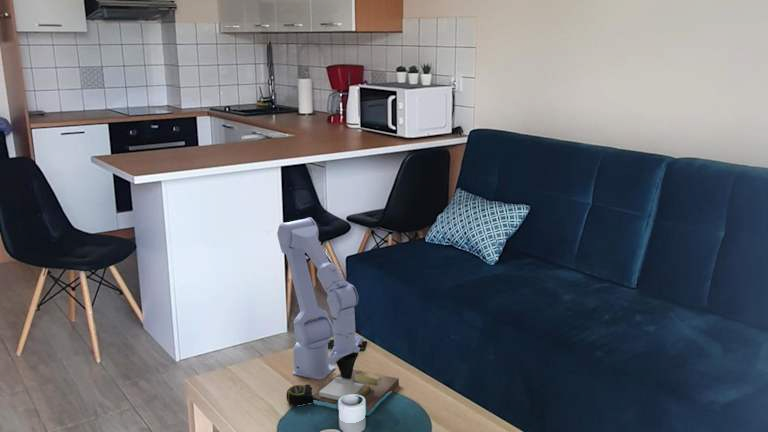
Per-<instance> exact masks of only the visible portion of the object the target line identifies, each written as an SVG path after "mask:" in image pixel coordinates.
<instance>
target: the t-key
mask: <svg viewBox="0 0 768 432" xmlns="http://www.w3.org/2000/svg"><path fill="white" fill-rule="evenodd" d="M372 373H373V372H369V373H368V372H367V371H363V370H360V369H358V371H357V372H355V373H354V374H355V380H356V381H360V382H363V383H365V384H366V388H365V389H363V390H362V391H361V392H359V395H362V396H364V395H366V394H367V393H368V392H371V385H374V386H378V385H380V384H381V376H379V375H380V374H379V375H375V374H376V373H374V374H372Z"/></svg>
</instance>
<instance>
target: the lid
mask: <svg viewBox="0 0 768 432" xmlns="http://www.w3.org/2000/svg"><path fill="white" fill-rule="evenodd" d="M363 389H365V385H364V384H359V383H354V382H353V380H351V379H347V378H342V377H337V376H336V377H335V378H333V380H331V381H330V382H329V383H328V384H327V385H325V386H324V387H323V388H321V389H320V391H318V393H319V396H321V397H326V398H330V399H335V400H338V399H339V398H340V397H341V396H343V395H346V394H359V392H361V391H362V390H363Z"/></svg>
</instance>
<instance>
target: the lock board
mask: <svg viewBox="0 0 768 432" xmlns="http://www.w3.org/2000/svg"><path fill="white" fill-rule="evenodd" d="M358 370H359V369H358ZM358 370H357V369H354V368H353V372H352V377H351V380H353V382H354V383H359V384H364V385H365V388H366V384H365V383H363V382H360V381H356V380H355V374H354V373H355V372H357V371H358ZM368 373H370V372H368ZM371 373H372V374H375V375H379V376H381V384H380V385H378V386H374V385H371V392H368V393H367V394H366V395H364V397H365V399H366V405H367V412H368V411H369V410H370V409H371V408H372V407H374V406H375V404H376V403H377V402H378V401H379V400H380V399H382V397H384V396H385V394H387V393H388V392H390V391H392V393H393V392H394V390H396V389H397V388H398V387H399V386H400V379H399V378H398V377H395V376H394V377H393V376H387V375H382V374H378V373H374V372H371ZM336 377H342V376H341V373H340V374H339V375H337V376H336ZM313 400H317V401H321V402H328V403H331V404H337V402H338V400H335V399H330V398H326V397H321V396H319V392H318V393H316V394H315V395H314V396H313Z"/></svg>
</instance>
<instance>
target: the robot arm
mask: <svg viewBox="0 0 768 432" xmlns="http://www.w3.org/2000/svg"><path fill="white" fill-rule="evenodd" d="M276 236H277V239H278V243H279V247H280V251H281V253H282V254H285V255H286V259H287V263H288V268H289V272H290V275H291V280H292V283H293V287H294V291H295V295H296V299H297V303H298V307H299V313H298V314H297V316H296V317H295V318H294V319H293V327H294V330H293V331H294V332H293V333H294V338H295V341H296V343H295V344H294V345H293V352H292V353H293V367H294V368H293V371H292V374H293V375H296V376H301V377H306V378H310V379H316V380H323V379H325V377H327V376H328V375H329V374H330V373H331V372H333V371H334V370H335V369H336V367H335V365H336V366H337V368H338V370H339V373H340V374H341V376H342V378H347V379H351V377H352V372H353V369H354V367H355V363H356V360H357V359H358V356H359V352H360V350H361V348H360V347H359V345H361V344H362V343H363V342H362V336H358V335H356V320H355V319H356V318H355V317H356V316H355V307H356V306H357V305H358V303H359V293H358V291H357V288H356V287H355V286H354V285H353V284H352V283H350V282H349V281H346V280H345V279H344V276H343V275H342V273H341V272H340V270H339V269H338V267H337V264H335V263H333V262H330V261H329V259H328V257H327V255H326V253H325V251H324V248H323V246H322V244H321V242H320V240H319V227H318V224H317V222H316V221H315V220H314V219H313V218H312V217H311V216H310V217H306V218H303V219H297V220H293V221H292V220H291V221H289V222H288V221H287V222H281V223H280V224H279V225H278V229H277V235H276ZM306 254H307V256H308V257H309V259H310V260H311V262H312V263H313V265H314V266H315V268H316V269H317V271H316V277H317V278H318V280H319V282H320V284H321V285H322V287H323V289H324V291H325V293H326V294H327V297H326V302H327V305H328V307H329V313H328V311H326V310H324V309H322V308H321V307H319V306H318V305H319V304H318V301H317V298H316V293H315V290H314V286H313V281H312V278H311V277H312V276H311V273H310V270H309V266H308V263H307V259H306ZM329 314H330V316H331V317H332V321H331V318H330V317H329ZM309 320H310V321H309ZM332 337H333V347H332V350H331V351H330V354H329V345H328V343H330V339H331V338H332ZM332 365H333V366H332Z"/></svg>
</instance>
